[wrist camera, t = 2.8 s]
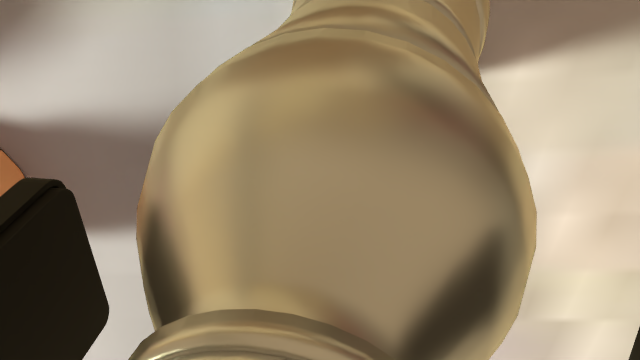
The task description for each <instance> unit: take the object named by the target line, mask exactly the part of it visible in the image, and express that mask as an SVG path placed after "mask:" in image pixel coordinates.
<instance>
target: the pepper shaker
mask: <svg viewBox="0 0 640 360" xmlns="http://www.w3.org/2000/svg"><path fill="white" fill-rule="evenodd" d="M23 178H25V177H24V176H23V174H22V172H21V171H20V169H19V168H18V167H17V166H16V165H15V164H14V163H13V162H12V161H11V160H10V159H9V158H8V156H7V155H6V154H5V153H4V152H3V151H1V150H0V196H2V195H3V194H4V193H5V192H6V191H7V190H9V189H10V188H11V187H12V186H13V185H15V184H16V183H17V182H18V181H20V180H21V179H23Z"/></svg>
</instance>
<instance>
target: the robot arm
mask: <svg viewBox="0 0 640 360" xmlns="http://www.w3.org/2000/svg"><path fill="white" fill-rule="evenodd" d="M108 316H109V305H108V301H107V298H106V295H105V292H104V289H103V285H102V282H101V279H100V276H99V273H98V270H97V266H96V263H95V260H94V257H93V254H92V250H91V247H90V244H89V241H88V238H87V235H86V231H85V228H84V225H83V222H82V219H81V216H80V212H79V209H78V206H77V203H76V200H75V197H74V195H73V193H72V192H71V191H70V190H68V189H66V187H65V185H64V184H63V183H62V182H61V181H59V180H54V179H40V178H23V179H21V180H20V181H18V182H17V183H16V184H15V185H13V186H12V187H11V188H10V189H9V190H7V191H6V192H5V193H4V194H3V195H2V196H0V360H82V359H83V358H84V356H85V355H86V353H87V352H88V350H89V349H90V347H91V346H92V344H93V343H94V341H95V340H96V338H97V337H98V335H99V334H100V333H101V331H102V330H103V328H104V326H105V325H106V323H107V320H108ZM629 360H640V327H639V330H638V333H637V336H636V339H635V342H634V345H633V348H632V351H631V354H630V357H629Z"/></svg>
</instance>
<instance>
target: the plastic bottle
mask: <svg viewBox="0 0 640 360" xmlns="http://www.w3.org/2000/svg"><path fill="white" fill-rule="evenodd" d="M489 16H490V0H294V1H293V6H292V12H291V15H290V17H289V18H288V19H287V20H286V21H285V22H284V23H283V24H282V25H281V26H280V27H279V28H278V29H277V30H275V31H274V32H272V33H271V34H269V35H268V36H266V37H264V38H263V39H261V40H260V41H258V42H256V43H255V44H253V45H252V46H250V47H248V48H246V49H244V50H243V51H241V52H240V53H238V54H237V55H235V56H234V57H232V58H231V59H229V60H228V61H226V62H224V63H223V64H221V65H220V66H218V67H217V68H216V69H215V70H214V71H213V72H212V73H211V74H210V75H209V76H208V77H206V78H205V79H204V80H203V81H201V82H200V83H199V84H198V85H197V86H196V87H195V88H194V89H193V90H192V91H191V92H190V93H189V94H188V95H187V96H186V97H185V98H184V99H183V100H182V101H181V102H180V104H179V105H178V106H177V107H176V108H175V109H174V110H173V111H172V112H171V114H170V116H169V117H168V119H167V121H166V123H165V125H164V126H163V128H162V130H161V132H160V133H159V135H158V137H157V139H156V140H155V144H154V147H153V151H152V154H151V158H150V162H149V165H148V169H147V172H146V176H145V180H144V184H143V188H142V191H141V195H140V199H139V203H138V207H137V230H136V240H137V246H138V253H139V260H140V266H141V273H142V279H143V286H144V291H145V296H146V301H147V305H148V310H149V314H150V317H151V320H152V323H153V327H154V330H155V332H154V333H152V334H151V335H150V336H148V337H147V338H146V339H144V340H143V341H142V342H141V343H140V344H139V346H138V347H137V348H136V350H135V351H134V353H133V354H132V355H131V357H130V358H129V359H128V360H489V359H490V357H491V356H492V355H493V354H494V352H495V351H496V350H497V349H498V347H499V346H500V345H501V344H502V342H503V340H504V339H505V337H506V335H507V333H508V332H509V330H510V328H511V326H512V325H513V323H514V321H515V319H516V318H517V316H518V312H519V309H520V305H521V301H522V298H523V294H524V290H525V287H526V283H527V279H528V275H529V272H530V268H531V264H532V260H533V257H534V253H535V249H536V221H537V212H536V207H535V203H534V199H533V195H532V190H531V186H530V182H529V178H528V175H527V172H526V170H525V167H524V164H523V162H522V159H521V156H520V153H519V150H518V147H517V145H516V143H515V141H514V139H513V137H512V135H511V133H510V131H509V129H508V127H507V125H506V123H505V121H504V119H503V118H502V116H501V114H500V113H499V111H498V109H497V107H496V106H495V104H494V102H493V100H492V98H491V97H490V95H489V93H488V91H487V89H486V88H485V86H484V84H483V82H482V79H481V76H480V72H479V68H478V60H479V57H480V55H481V52H482V49H483V47H484V43H485V38H486V33H487V27H488V22H489Z"/></svg>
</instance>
